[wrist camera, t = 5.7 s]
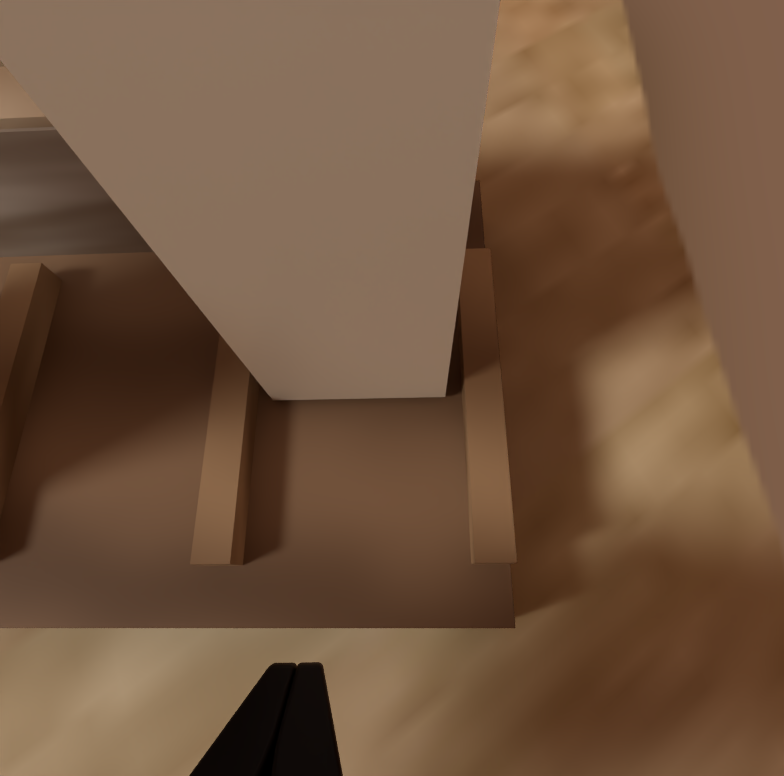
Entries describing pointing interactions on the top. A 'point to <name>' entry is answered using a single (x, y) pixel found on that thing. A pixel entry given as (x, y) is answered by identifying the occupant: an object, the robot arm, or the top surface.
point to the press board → (220, 444)
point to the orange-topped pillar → (283, 166)
